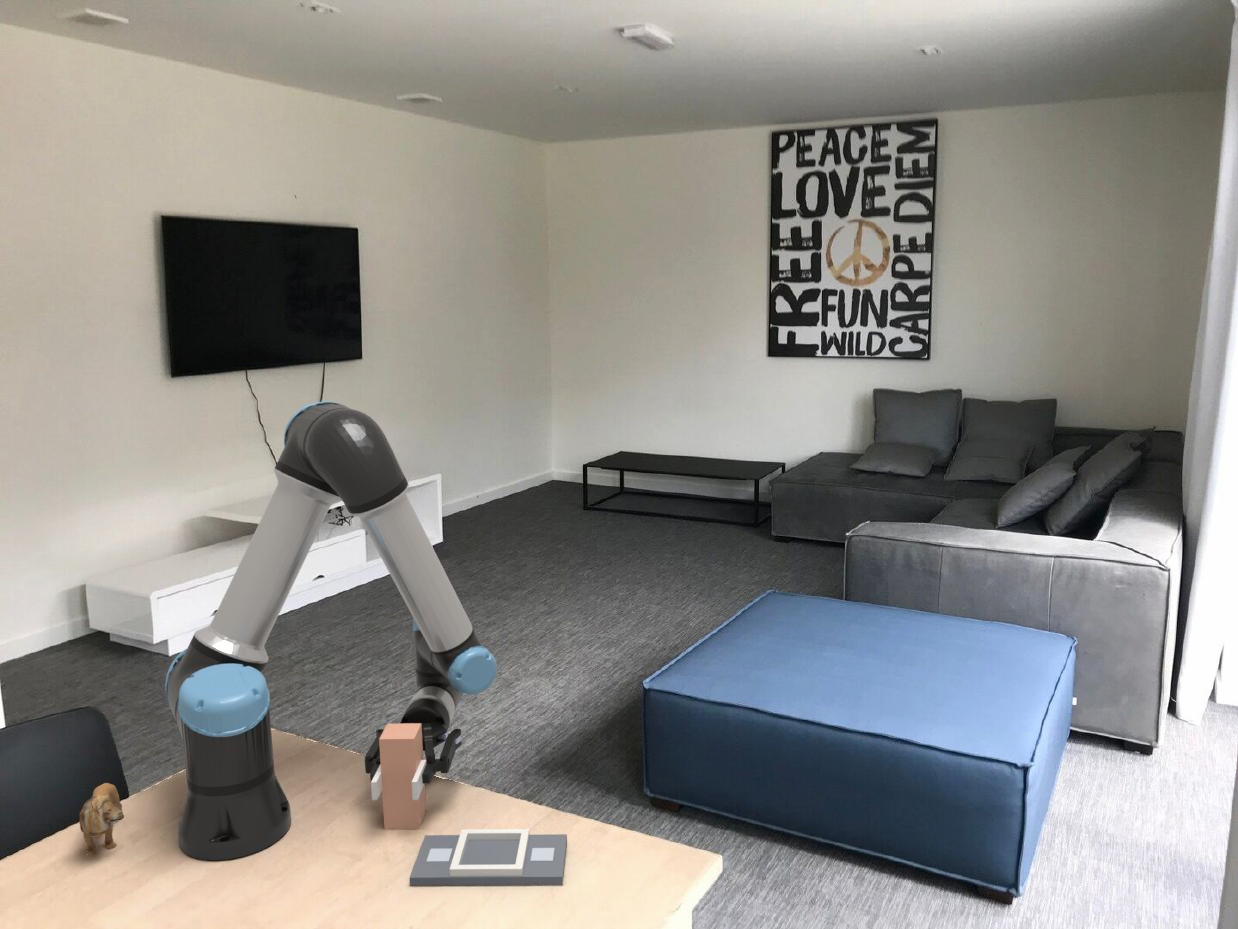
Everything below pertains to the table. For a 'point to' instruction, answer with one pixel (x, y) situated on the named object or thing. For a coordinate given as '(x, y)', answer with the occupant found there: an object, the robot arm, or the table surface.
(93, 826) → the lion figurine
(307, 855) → the table surface
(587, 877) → the table surface
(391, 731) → the terracotta pillar
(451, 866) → the base board
